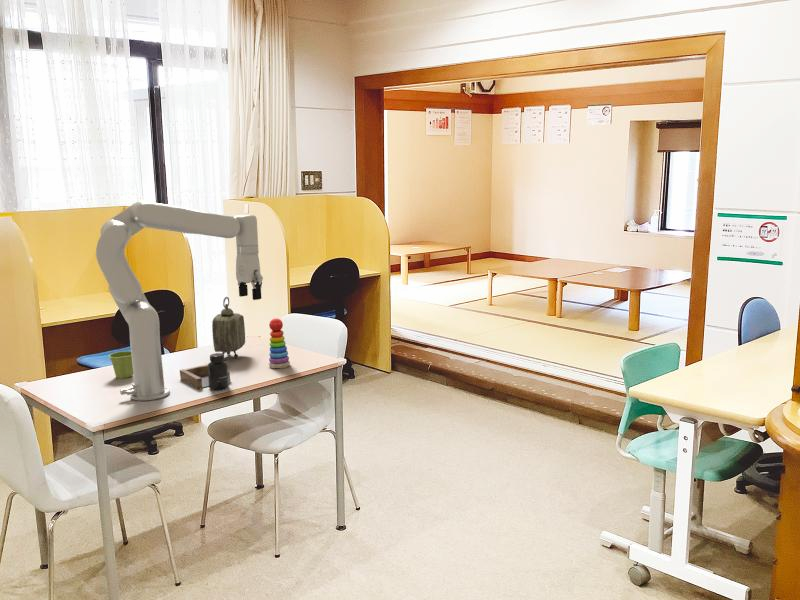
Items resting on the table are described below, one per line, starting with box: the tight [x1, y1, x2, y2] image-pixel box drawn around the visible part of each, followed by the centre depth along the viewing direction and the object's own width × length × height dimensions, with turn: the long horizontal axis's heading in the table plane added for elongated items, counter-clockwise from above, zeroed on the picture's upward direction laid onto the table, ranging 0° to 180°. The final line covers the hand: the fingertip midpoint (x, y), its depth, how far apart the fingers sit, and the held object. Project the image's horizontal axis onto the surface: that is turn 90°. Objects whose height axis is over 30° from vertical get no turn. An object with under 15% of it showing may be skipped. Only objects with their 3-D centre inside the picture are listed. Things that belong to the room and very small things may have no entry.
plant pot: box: [108, 350, 134, 379], centre depth 268 cm, size 9×9×9 cm
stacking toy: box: [268, 318, 291, 369], centre depth 274 cm, size 8×8×19 cm
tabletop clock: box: [211, 296, 246, 359], centre depth 288 cm, size 14×9×25 cm, turn 177°
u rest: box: [179, 363, 231, 390], centre depth 260 cm, size 12×16×4 cm
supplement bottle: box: [208, 352, 230, 391], centre depth 250 cm, size 7×7×12 cm
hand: (250, 297), depth 257 cm, fingers open, 9 cm apart
